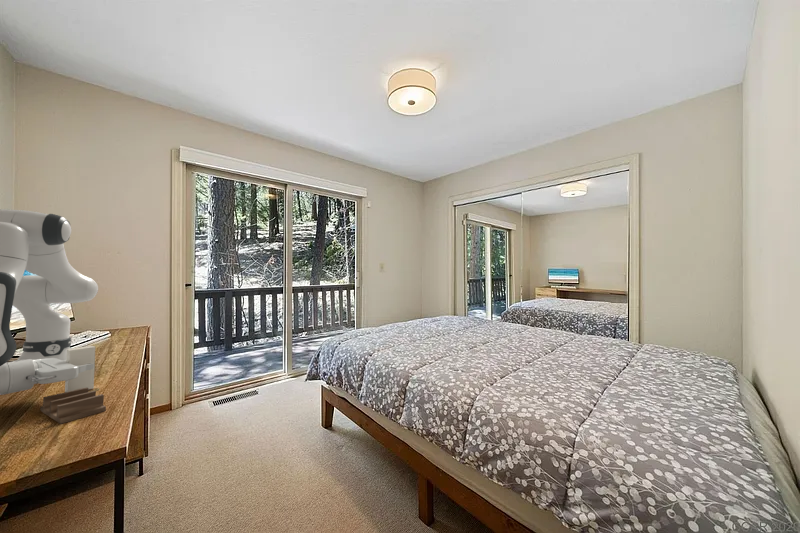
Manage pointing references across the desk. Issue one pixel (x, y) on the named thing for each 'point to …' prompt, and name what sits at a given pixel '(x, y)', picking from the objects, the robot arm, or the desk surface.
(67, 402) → the drying rack
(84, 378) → the clay bar
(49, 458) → the desk surface
